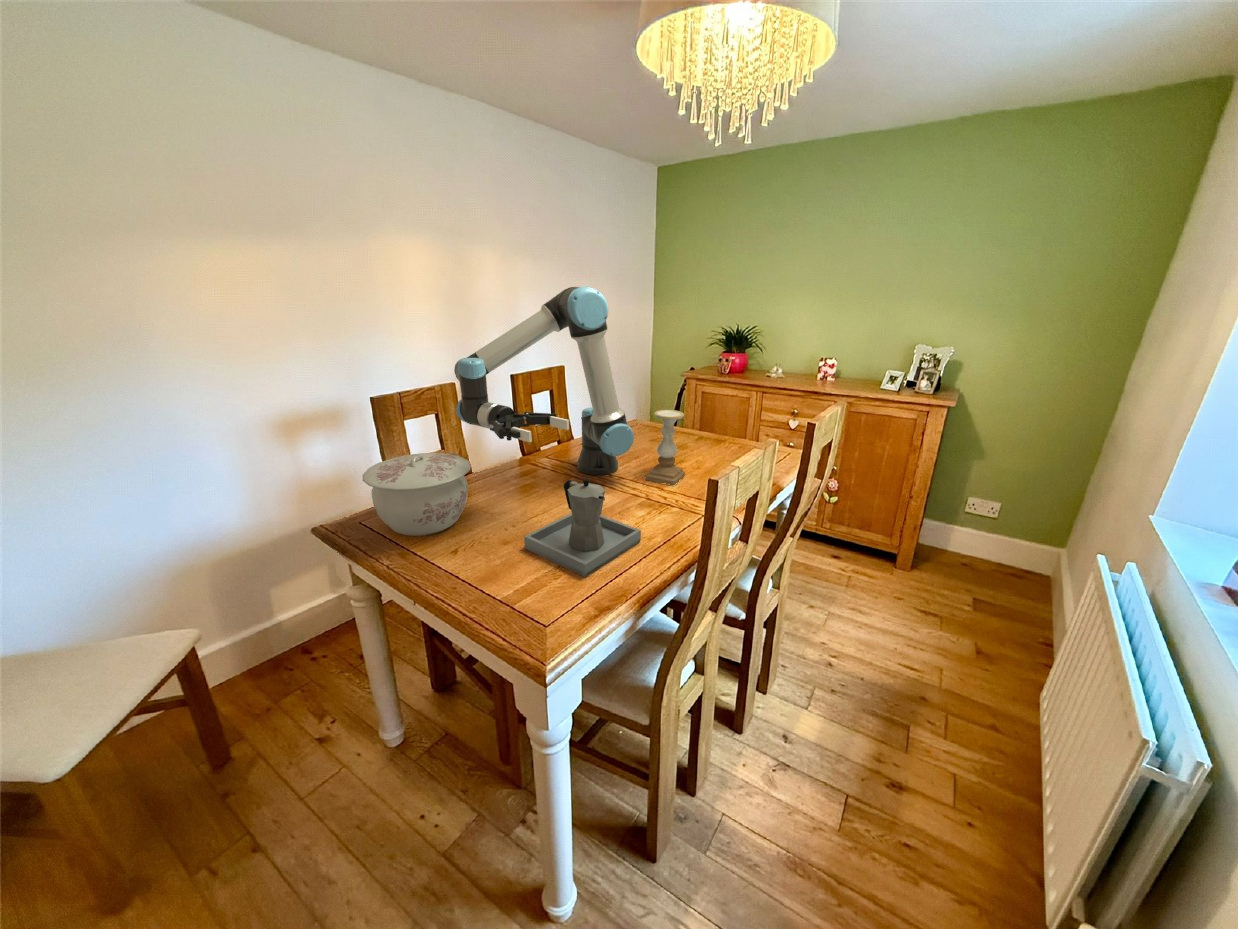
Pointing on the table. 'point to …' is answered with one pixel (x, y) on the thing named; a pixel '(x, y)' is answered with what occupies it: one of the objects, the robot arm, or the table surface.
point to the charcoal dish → (558, 550)
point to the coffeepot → (585, 514)
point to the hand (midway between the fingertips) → (550, 430)
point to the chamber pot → (419, 491)
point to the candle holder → (667, 451)
